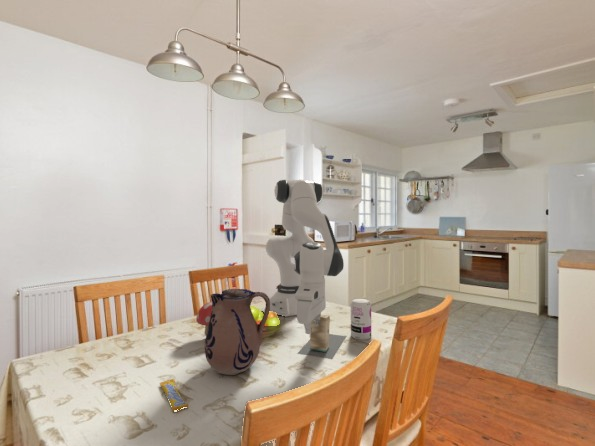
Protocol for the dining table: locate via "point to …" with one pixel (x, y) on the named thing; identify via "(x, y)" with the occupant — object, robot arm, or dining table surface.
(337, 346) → the mat
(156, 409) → the dining table surface
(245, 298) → the ceramic pitcher
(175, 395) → the candy bar
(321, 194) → the robot arm
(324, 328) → the block
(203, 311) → the decorative mushroom
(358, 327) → the supplement can
